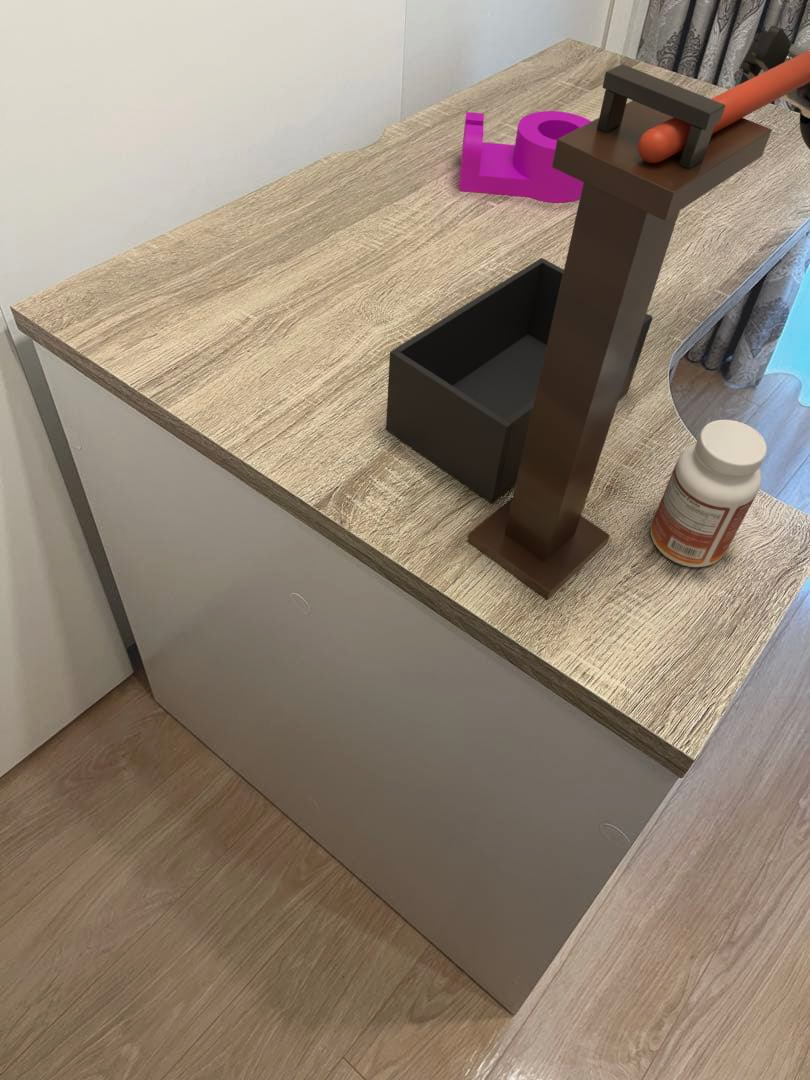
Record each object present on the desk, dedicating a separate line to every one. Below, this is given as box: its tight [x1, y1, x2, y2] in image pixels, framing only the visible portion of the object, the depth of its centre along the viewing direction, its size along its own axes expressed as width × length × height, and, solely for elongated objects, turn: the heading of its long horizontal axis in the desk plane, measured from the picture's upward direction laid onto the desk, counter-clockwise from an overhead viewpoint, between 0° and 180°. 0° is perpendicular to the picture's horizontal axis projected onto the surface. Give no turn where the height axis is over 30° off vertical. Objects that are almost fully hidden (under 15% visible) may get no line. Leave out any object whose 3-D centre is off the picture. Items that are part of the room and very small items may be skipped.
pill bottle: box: [650, 419, 768, 568], centre depth 65 cm, size 6×6×11 cm
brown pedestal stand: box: [467, 63, 773, 600], centre depth 56 cm, size 11×8×35 cm
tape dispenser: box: [458, 110, 593, 204], centre depth 103 cm, size 16×10×6 cm, turn 86°
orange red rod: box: [638, 51, 810, 163], centre depth 46 cm, size 17×2×2 cm
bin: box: [385, 257, 654, 504], centre depth 75 cm, size 20×12×9 cm, turn 137°
